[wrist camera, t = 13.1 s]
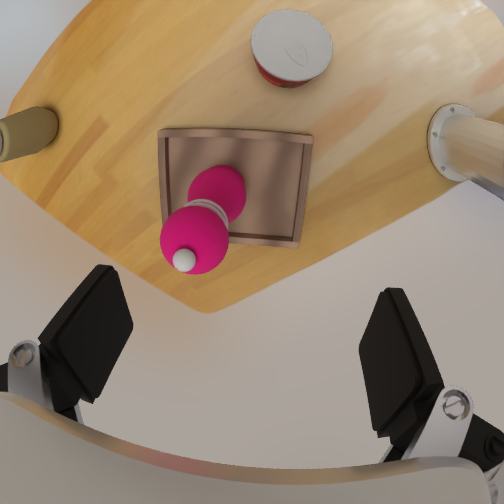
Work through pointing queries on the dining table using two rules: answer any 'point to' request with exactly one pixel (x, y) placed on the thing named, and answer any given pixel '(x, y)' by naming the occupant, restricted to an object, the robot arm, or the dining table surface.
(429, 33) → the dining table surface
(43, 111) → the squeeze bottle
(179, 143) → the walnut tray
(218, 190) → the pepper mill
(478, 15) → the dining table surface
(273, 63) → the canned food
